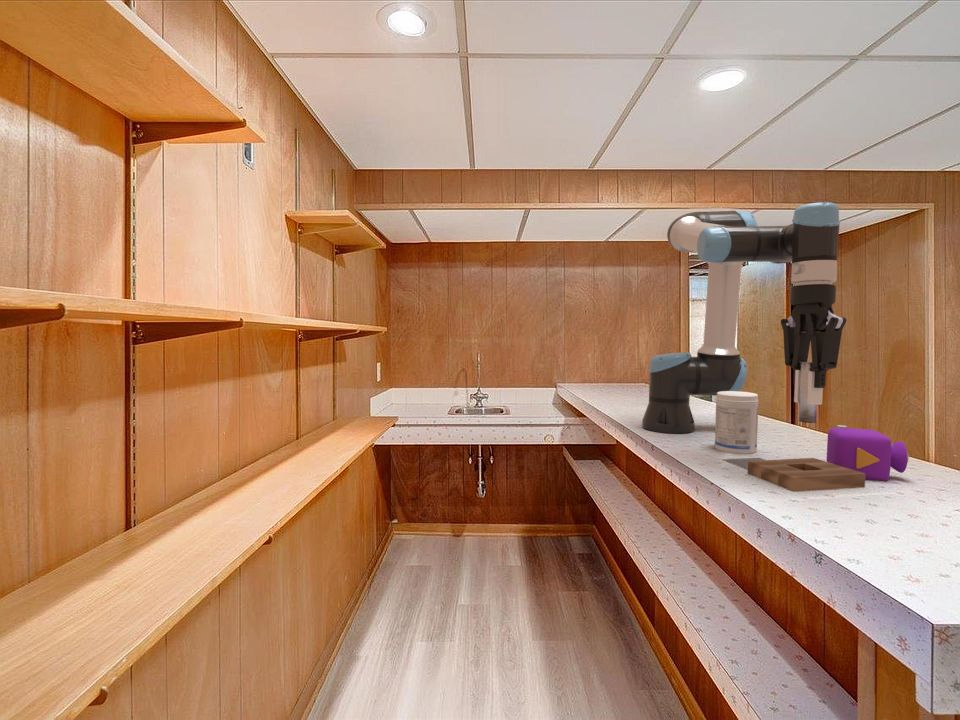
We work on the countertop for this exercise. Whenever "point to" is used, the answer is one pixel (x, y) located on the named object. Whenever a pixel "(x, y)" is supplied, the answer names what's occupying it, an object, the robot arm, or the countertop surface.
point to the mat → (742, 461)
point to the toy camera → (866, 452)
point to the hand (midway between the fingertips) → (807, 403)
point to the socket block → (806, 474)
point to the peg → (805, 396)
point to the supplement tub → (736, 422)
